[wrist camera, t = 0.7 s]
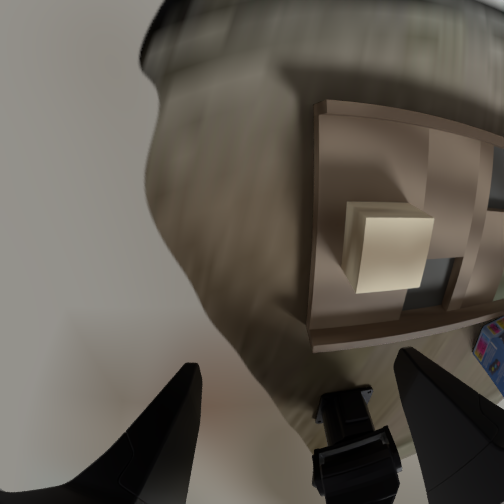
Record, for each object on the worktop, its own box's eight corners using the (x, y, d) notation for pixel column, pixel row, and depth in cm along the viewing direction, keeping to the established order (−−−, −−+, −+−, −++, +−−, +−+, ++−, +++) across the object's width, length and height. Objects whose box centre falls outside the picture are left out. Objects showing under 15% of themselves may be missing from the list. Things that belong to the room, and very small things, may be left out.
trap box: (510, 293, 24) (525, 307, 21) (305, 325, 24) (312, 352, 21) (540, 156, 16) (560, 163, 13) (313, 104, 17) (326, 99, 13)
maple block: (398, 264, 20) (419, 287, 17) (341, 267, 20) (356, 293, 17) (408, 202, 18) (434, 218, 15) (346, 201, 18) (366, 217, 15)
